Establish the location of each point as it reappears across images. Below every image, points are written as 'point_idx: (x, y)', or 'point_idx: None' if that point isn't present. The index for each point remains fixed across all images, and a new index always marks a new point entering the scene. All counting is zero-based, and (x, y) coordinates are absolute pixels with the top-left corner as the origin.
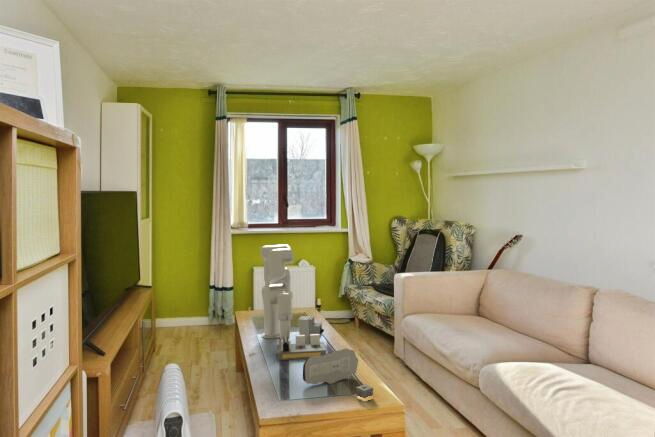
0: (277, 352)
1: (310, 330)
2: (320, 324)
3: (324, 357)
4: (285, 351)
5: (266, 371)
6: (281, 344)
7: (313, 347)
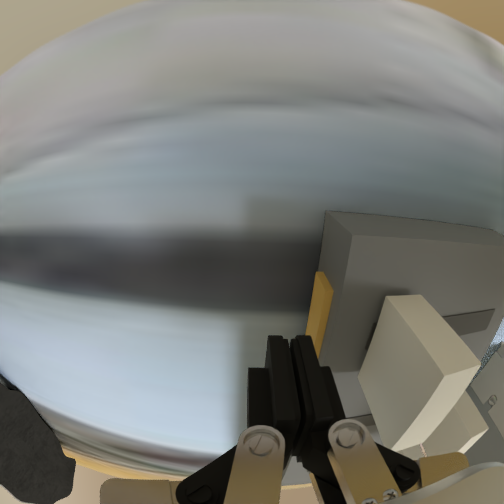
0: (366, 246)
1: (494, 440)
2: None
3: None
4: (266, 356)
5: (58, 126)
6: (419, 348)
7: None
